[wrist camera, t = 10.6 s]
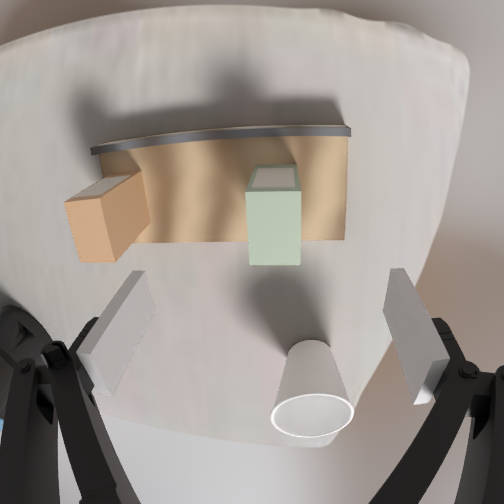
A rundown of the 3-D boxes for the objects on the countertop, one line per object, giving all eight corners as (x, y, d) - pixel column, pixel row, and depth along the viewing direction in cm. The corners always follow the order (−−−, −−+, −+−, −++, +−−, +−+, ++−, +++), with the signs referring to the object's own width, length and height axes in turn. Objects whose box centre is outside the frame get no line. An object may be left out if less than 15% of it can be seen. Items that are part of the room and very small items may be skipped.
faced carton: (120, 224, 36) (80, 262, 28) (110, 173, 33) (63, 201, 25) (150, 222, 35) (115, 262, 27) (141, 169, 32) (99, 197, 24)
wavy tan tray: (121, 239, 38) (111, 249, 35) (102, 142, 32) (90, 147, 30) (342, 235, 35) (346, 246, 32) (345, 124, 29) (350, 126, 27)
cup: (290, 318, 41) (289, 385, 31) (357, 337, 42) (370, 401, 32) (264, 366, 46) (258, 429, 36) (325, 381, 46) (329, 442, 37)
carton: (258, 221, 34) (249, 265, 26) (255, 163, 31) (244, 190, 23) (297, 221, 33) (300, 265, 26) (296, 163, 31) (301, 190, 23)
